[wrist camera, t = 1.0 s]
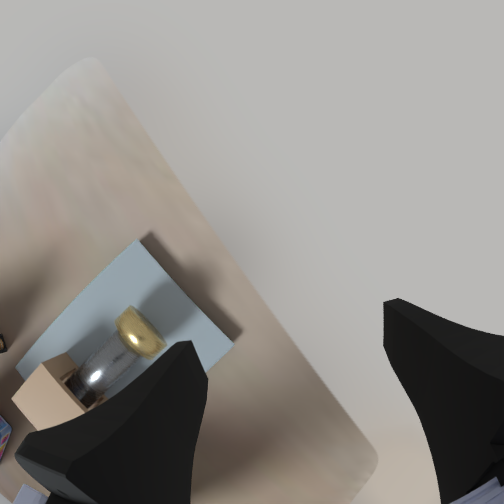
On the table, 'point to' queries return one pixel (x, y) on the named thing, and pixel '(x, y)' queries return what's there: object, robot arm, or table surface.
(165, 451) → the robot arm
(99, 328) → the mounting board
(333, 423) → the table surface
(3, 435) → the ink cartridge box
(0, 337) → the ammunition clip
